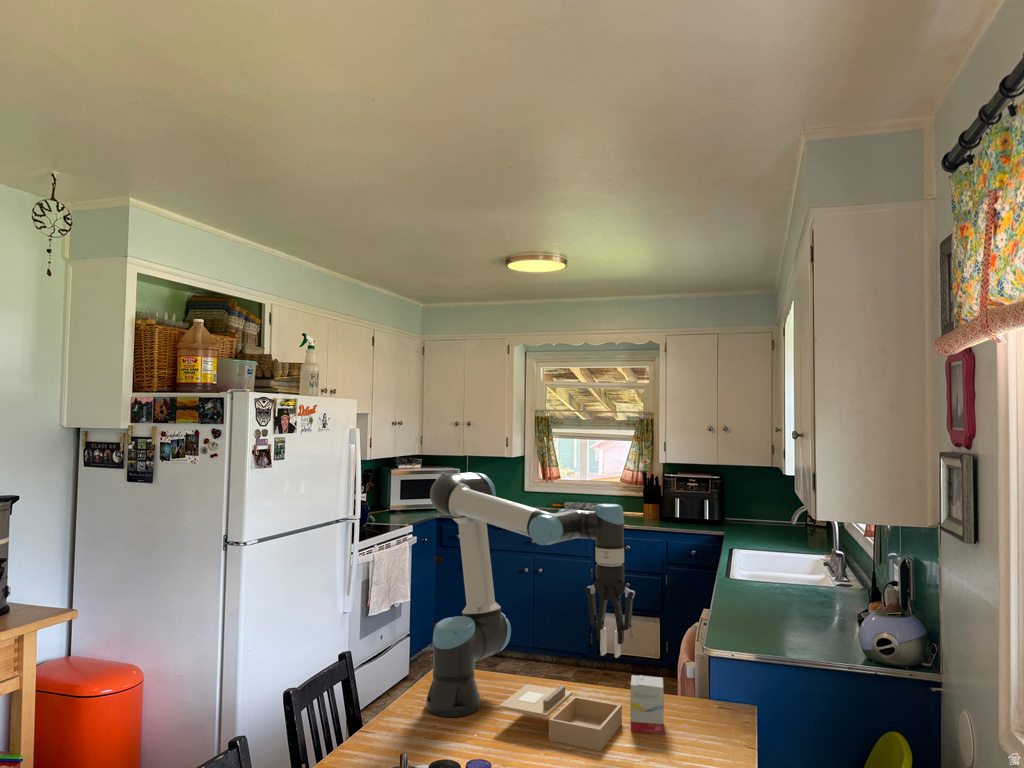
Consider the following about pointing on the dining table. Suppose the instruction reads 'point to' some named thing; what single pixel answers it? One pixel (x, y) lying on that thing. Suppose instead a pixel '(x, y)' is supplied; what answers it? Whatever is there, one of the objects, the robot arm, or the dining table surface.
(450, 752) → the dining table surface
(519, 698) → the lid
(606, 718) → the box
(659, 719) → the ink box
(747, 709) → the dining table surface
